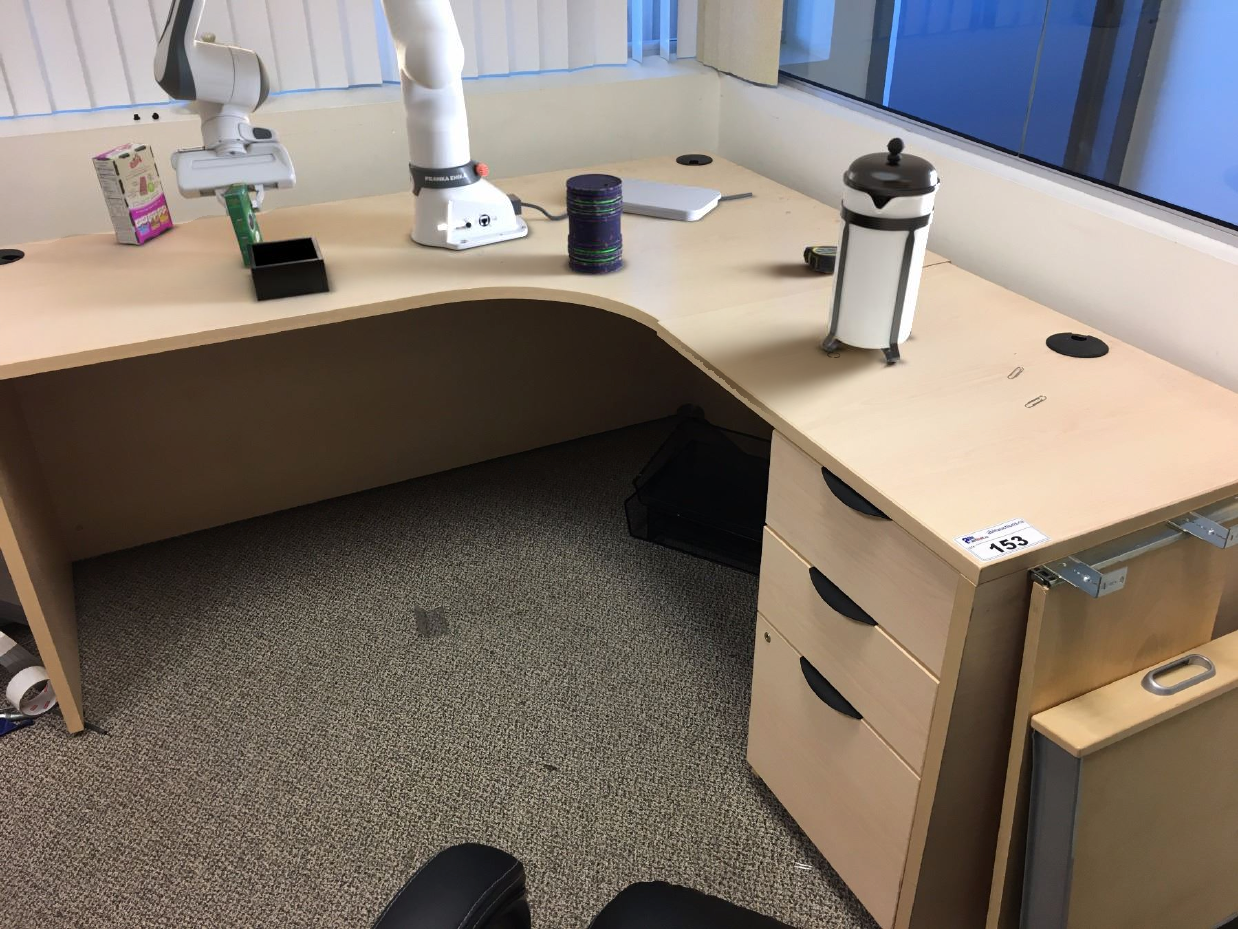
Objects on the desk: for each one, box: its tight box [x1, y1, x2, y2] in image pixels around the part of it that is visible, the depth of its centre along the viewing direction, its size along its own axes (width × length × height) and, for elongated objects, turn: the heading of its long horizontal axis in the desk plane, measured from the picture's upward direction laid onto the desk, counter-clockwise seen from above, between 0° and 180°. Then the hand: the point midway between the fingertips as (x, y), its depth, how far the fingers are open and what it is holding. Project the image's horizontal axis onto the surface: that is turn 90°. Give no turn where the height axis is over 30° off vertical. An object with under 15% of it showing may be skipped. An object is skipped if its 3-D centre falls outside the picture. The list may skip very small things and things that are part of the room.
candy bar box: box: [91, 142, 174, 246], centre depth 179 cm, size 11×5×16 cm, turn 168°
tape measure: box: [803, 245, 838, 274], centre depth 166 cm, size 7×7×4 cm
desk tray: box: [246, 235, 330, 302], centre depth 161 cm, size 12×13×6 cm
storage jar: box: [565, 173, 624, 276], centre depth 165 cm, size 10×10×15 cm
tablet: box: [619, 177, 722, 222], centre depth 199 cm, size 16×26×2 cm, turn 64°
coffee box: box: [224, 183, 264, 268], centre depth 169 cm, size 8×3×13 cm, turn 10°
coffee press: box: [821, 137, 941, 364], centre depth 134 cm, size 17×16×30 cm
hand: (244, 212), depth 170 cm, fingers closed on coffee box, 3 cm apart
